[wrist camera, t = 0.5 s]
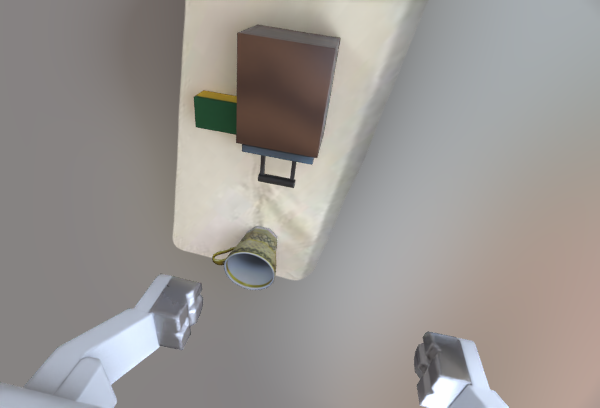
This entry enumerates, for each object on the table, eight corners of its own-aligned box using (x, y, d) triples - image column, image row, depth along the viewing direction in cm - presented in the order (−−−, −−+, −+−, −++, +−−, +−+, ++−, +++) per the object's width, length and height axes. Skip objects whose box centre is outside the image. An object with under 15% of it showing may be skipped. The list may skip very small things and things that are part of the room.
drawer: (313, 174, 58) (307, 196, 52) (253, 163, 59) (241, 183, 53) (332, 59, 47) (327, 70, 41) (258, 47, 48) (243, 56, 42)
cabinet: (323, 134, 54) (317, 158, 47) (253, 121, 55) (236, 143, 48) (340, 38, 46) (335, 48, 39) (257, 24, 47) (237, 32, 39)
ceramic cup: (287, 224, 66) (276, 258, 58) (283, 259, 72) (273, 294, 64) (226, 213, 67) (207, 244, 59) (227, 248, 73) (210, 281, 65)
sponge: (203, 90, 53) (193, 96, 50) (247, 97, 53) (239, 105, 50) (204, 119, 56) (195, 127, 53) (246, 126, 56) (239, 135, 53)
